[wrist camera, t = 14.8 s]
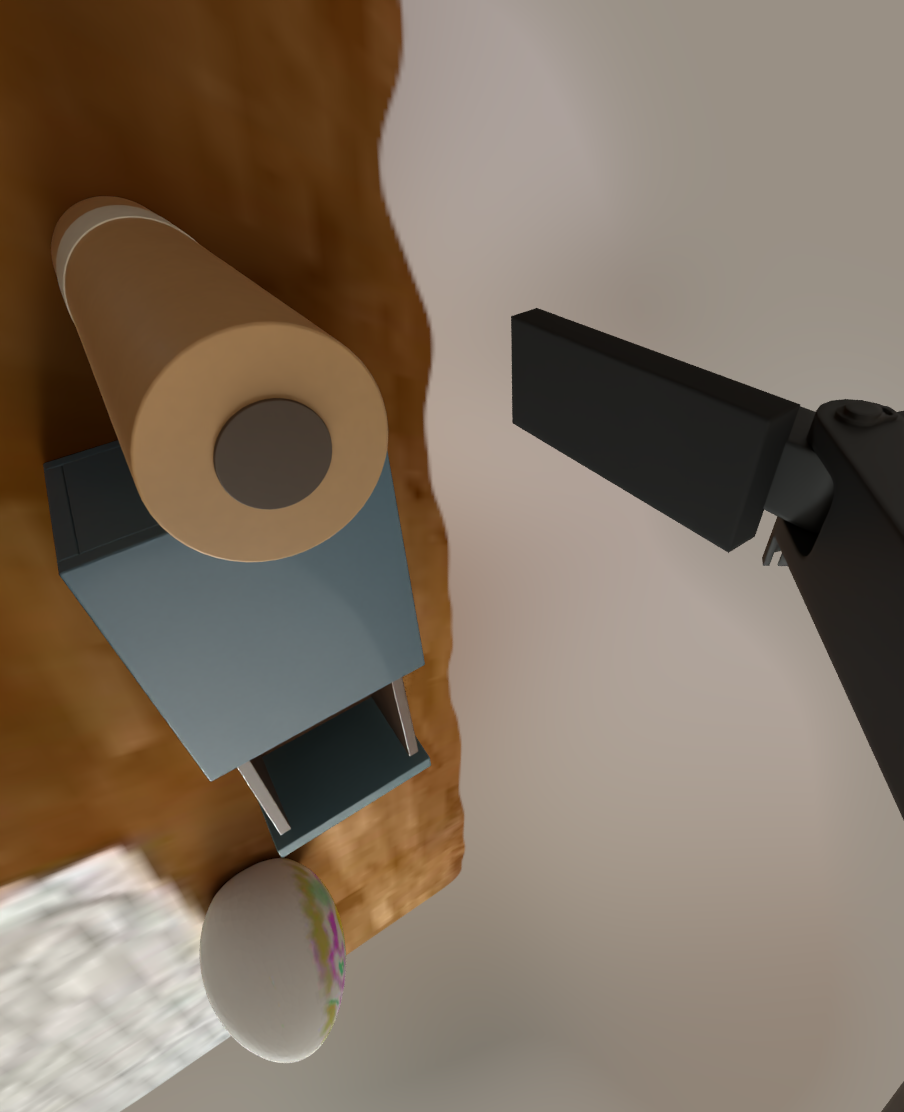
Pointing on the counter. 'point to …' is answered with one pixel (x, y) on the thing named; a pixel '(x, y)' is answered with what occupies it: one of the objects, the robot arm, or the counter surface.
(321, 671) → the cabinet
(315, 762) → the drawer
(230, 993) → the decorative egg
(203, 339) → the paper roll
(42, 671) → the counter surface
